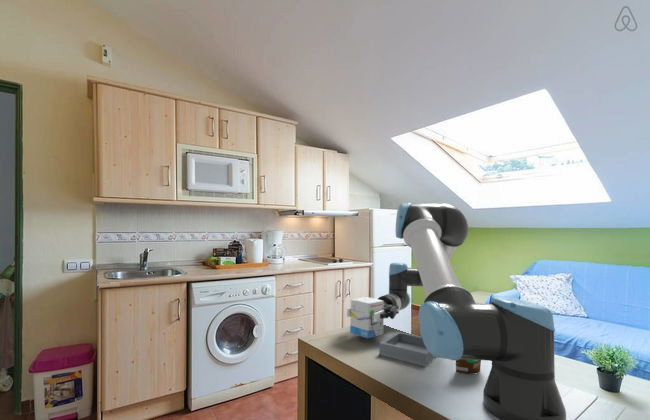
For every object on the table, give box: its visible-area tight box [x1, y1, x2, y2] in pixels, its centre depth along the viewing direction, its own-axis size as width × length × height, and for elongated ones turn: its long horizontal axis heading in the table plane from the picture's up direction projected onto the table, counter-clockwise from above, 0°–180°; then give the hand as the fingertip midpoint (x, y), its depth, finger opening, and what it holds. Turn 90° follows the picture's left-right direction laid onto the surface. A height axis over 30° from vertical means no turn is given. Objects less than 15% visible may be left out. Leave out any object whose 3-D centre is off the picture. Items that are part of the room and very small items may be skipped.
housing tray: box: [378, 331, 436, 367], centre depth 102 cm, size 14×14×4 cm
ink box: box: [349, 296, 384, 339], centre depth 114 cm, size 8×8×12 cm
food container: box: [455, 359, 482, 375], centre depth 91 cm, size 12×6×10 cm, turn 143°
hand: (360, 315), depth 111 cm, fingers closed on ink box, 10 cm apart
